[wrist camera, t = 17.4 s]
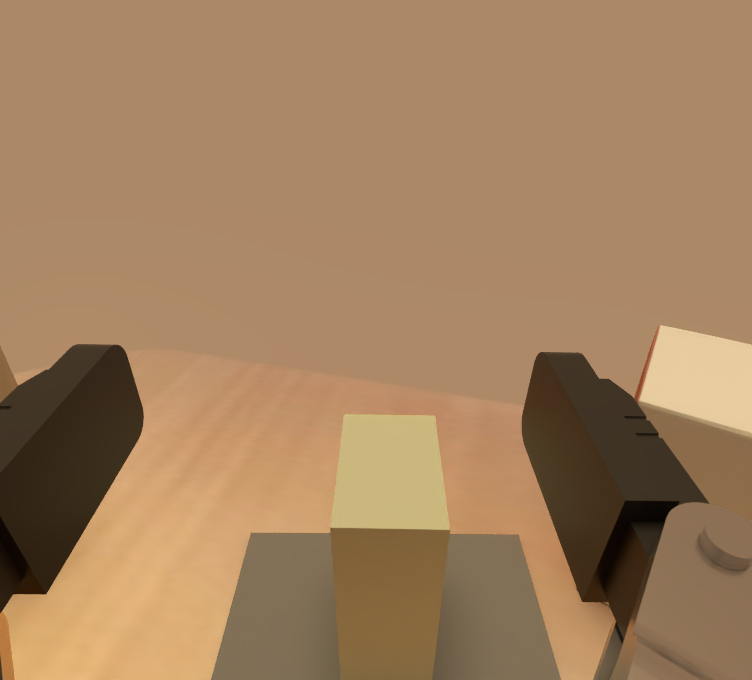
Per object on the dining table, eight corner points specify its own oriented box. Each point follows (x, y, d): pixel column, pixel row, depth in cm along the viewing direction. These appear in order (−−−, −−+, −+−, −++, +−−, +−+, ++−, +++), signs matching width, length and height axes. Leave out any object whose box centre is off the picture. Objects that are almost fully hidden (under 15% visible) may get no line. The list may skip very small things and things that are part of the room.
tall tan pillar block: (341, 692, 22) (330, 527, 16) (350, 570, 27) (344, 414, 21) (430, 694, 22) (450, 530, 16) (422, 571, 27) (434, 415, 21)
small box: (601, 494, 32) (658, 321, 26) (712, 538, 29) (808, 355, 23) (571, 591, 26) (636, 398, 20) (707, 658, 23) (835, 458, 17)
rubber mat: (190, 767, 20) (188, 763, 20) (252, 537, 29) (251, 533, 29) (584, 770, 20) (586, 766, 19) (517, 539, 29) (518, 534, 29)
